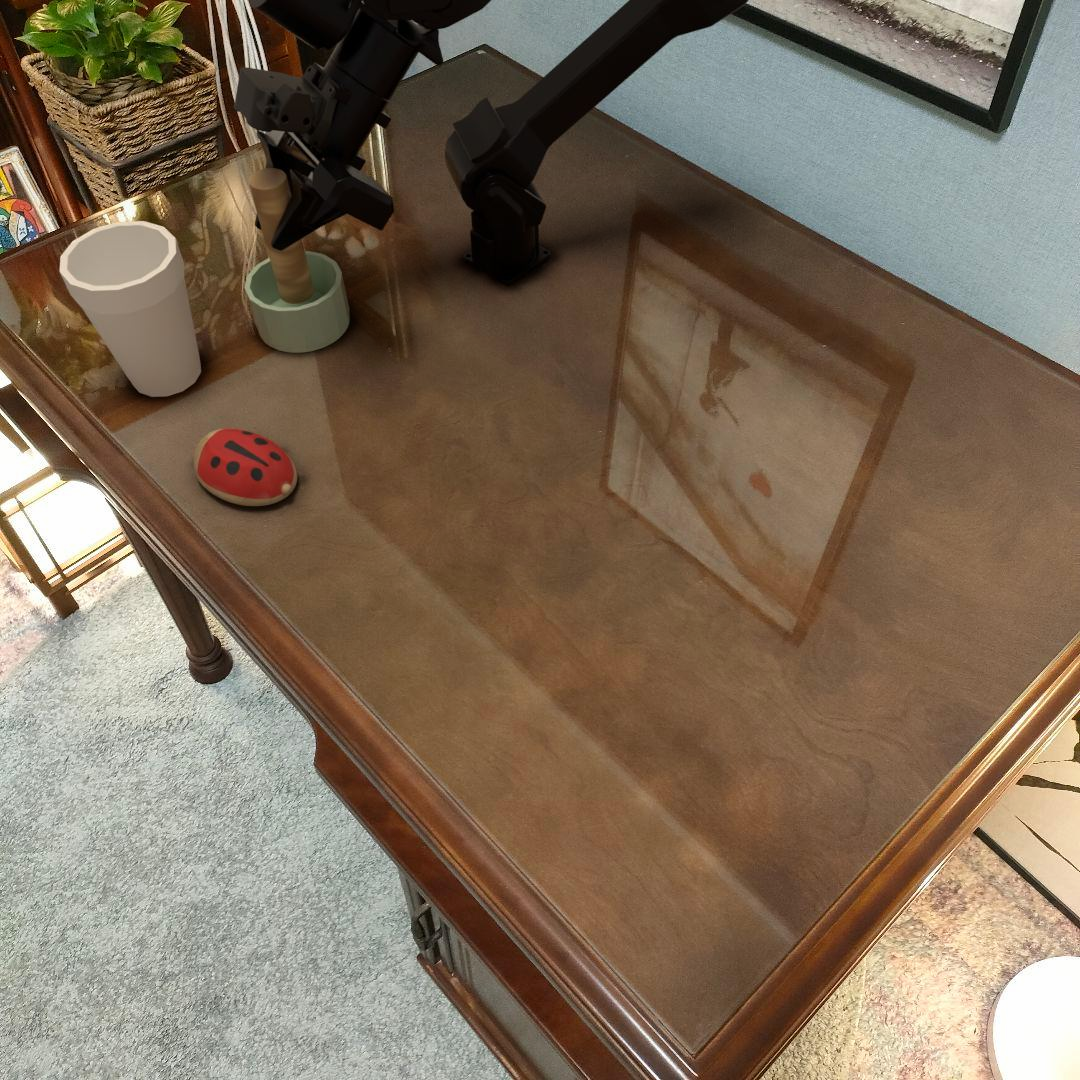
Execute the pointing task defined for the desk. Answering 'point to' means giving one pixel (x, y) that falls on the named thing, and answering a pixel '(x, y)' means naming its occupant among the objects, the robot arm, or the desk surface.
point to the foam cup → (137, 302)
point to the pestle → (270, 207)
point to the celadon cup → (299, 307)
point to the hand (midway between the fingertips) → (267, 238)
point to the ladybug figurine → (244, 468)
